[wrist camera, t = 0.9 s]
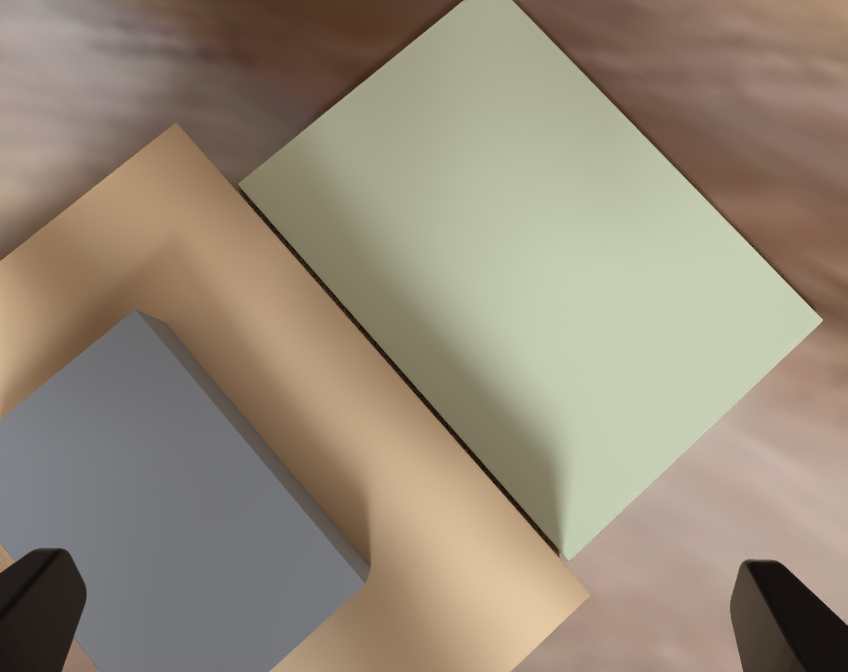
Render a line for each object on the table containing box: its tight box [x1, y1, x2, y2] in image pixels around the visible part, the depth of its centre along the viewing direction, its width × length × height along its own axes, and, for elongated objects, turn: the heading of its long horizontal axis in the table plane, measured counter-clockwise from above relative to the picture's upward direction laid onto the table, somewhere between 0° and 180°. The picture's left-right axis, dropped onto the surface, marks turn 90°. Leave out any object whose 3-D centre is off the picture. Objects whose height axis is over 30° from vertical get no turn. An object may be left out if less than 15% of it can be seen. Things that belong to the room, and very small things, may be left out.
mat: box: [238, 0, 823, 560], centre depth 23 cm, size 12×17×1 cm
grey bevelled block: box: [0, 309, 371, 672], centre depth 17 cm, size 6×9×2 cm, turn 41°
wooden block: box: [0, 122, 591, 672], centre depth 20 cm, size 11×18×4 cm, turn 41°
